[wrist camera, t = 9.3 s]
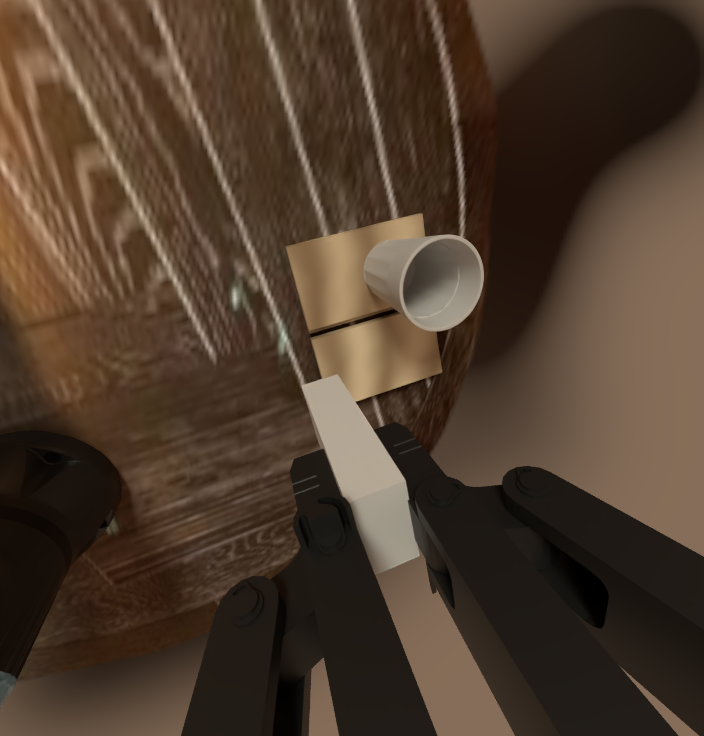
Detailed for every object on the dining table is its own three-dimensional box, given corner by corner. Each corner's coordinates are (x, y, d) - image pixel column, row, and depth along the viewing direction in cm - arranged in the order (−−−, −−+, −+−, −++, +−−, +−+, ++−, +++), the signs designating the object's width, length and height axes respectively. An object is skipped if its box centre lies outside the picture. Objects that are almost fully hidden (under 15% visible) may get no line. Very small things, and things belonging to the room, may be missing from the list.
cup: (418, 298, 43) (481, 323, 32) (356, 308, 41) (400, 338, 30) (418, 227, 40) (487, 230, 29) (350, 235, 38) (397, 240, 27)
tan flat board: (308, 331, 41) (309, 334, 40) (284, 246, 37) (285, 247, 36) (427, 296, 43) (431, 298, 42) (417, 213, 39) (422, 213, 38)
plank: (329, 405, 44) (331, 409, 43) (309, 338, 41) (311, 340, 40) (437, 369, 47) (442, 372, 46) (427, 302, 44) (432, 304, 42)
